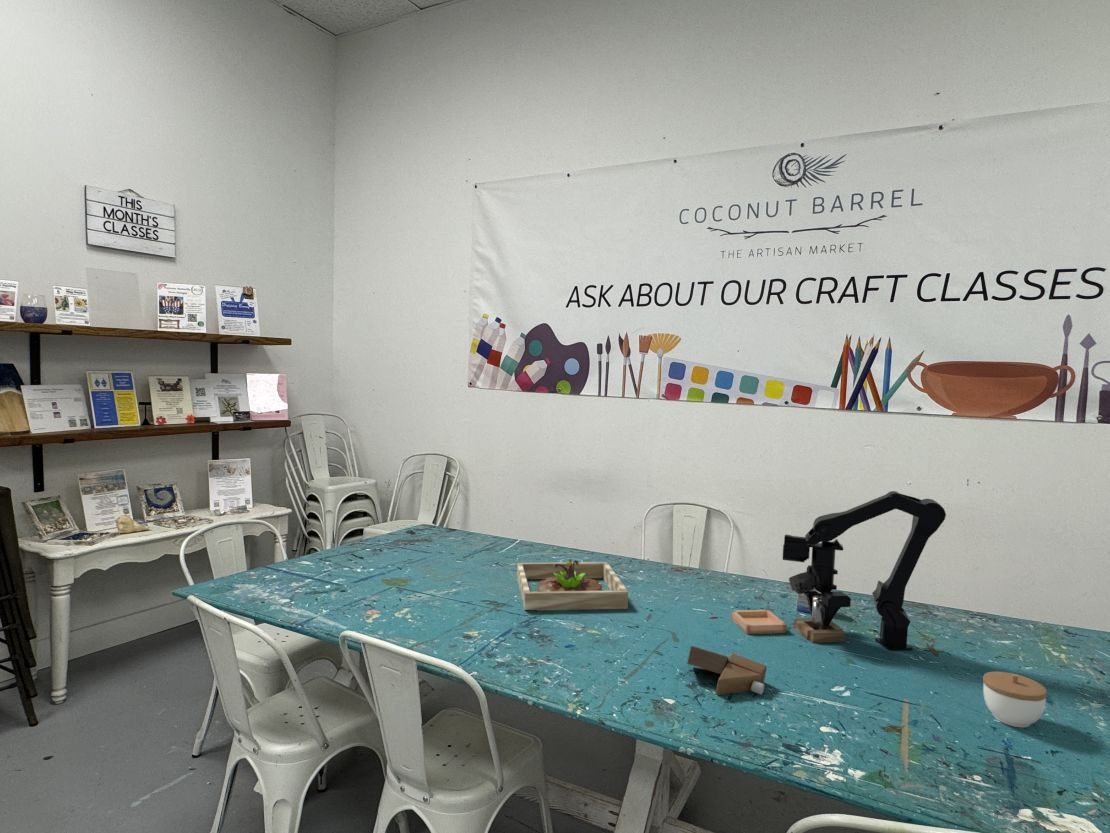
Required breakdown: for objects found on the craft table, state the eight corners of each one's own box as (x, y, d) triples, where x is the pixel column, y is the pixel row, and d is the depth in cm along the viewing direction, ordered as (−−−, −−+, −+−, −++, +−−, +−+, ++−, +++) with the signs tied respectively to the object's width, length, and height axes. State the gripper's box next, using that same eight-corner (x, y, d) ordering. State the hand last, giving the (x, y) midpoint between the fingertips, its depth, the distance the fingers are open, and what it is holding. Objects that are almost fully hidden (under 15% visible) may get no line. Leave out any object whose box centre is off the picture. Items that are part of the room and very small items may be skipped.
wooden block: (752, 719, 140) (672, 684, 149) (769, 687, 151) (694, 656, 160) (757, 688, 138) (677, 655, 147) (775, 658, 149) (698, 629, 158)
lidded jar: (1018, 706, 142) (1021, 663, 142) (1057, 734, 132) (1061, 688, 131) (968, 706, 142) (972, 663, 141) (1004, 733, 131) (1008, 687, 131)
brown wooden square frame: (846, 641, 175) (847, 632, 175) (810, 642, 173) (811, 633, 173) (826, 626, 185) (826, 617, 184) (792, 627, 183) (792, 618, 183)
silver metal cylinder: (829, 637, 177) (832, 600, 177) (815, 637, 177) (817, 600, 176) (821, 631, 181) (824, 595, 181) (808, 631, 181) (810, 595, 180)
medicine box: (795, 610, 197) (797, 581, 196) (798, 606, 201) (799, 577, 200) (824, 616, 193) (826, 586, 192) (826, 611, 197) (828, 582, 196)
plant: (529, 600, 200) (530, 563, 199) (545, 580, 219) (546, 547, 218) (594, 607, 196) (596, 570, 195) (605, 587, 215) (607, 552, 214)
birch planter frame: (627, 608, 194) (628, 591, 194) (524, 610, 191) (525, 593, 190) (606, 576, 224) (606, 561, 224) (516, 577, 220) (517, 562, 220)
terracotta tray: (786, 633, 179) (786, 624, 179) (747, 634, 178) (747, 625, 178) (767, 617, 190) (768, 609, 190) (730, 618, 189) (731, 610, 189)
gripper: (777, 554, 186) (775, 609, 187) (812, 575, 167) (808, 636, 168) (815, 554, 187) (812, 608, 188) (853, 574, 169) (850, 635, 170)
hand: (819, 621), depth 179 cm, fingers open, 6 cm apart
